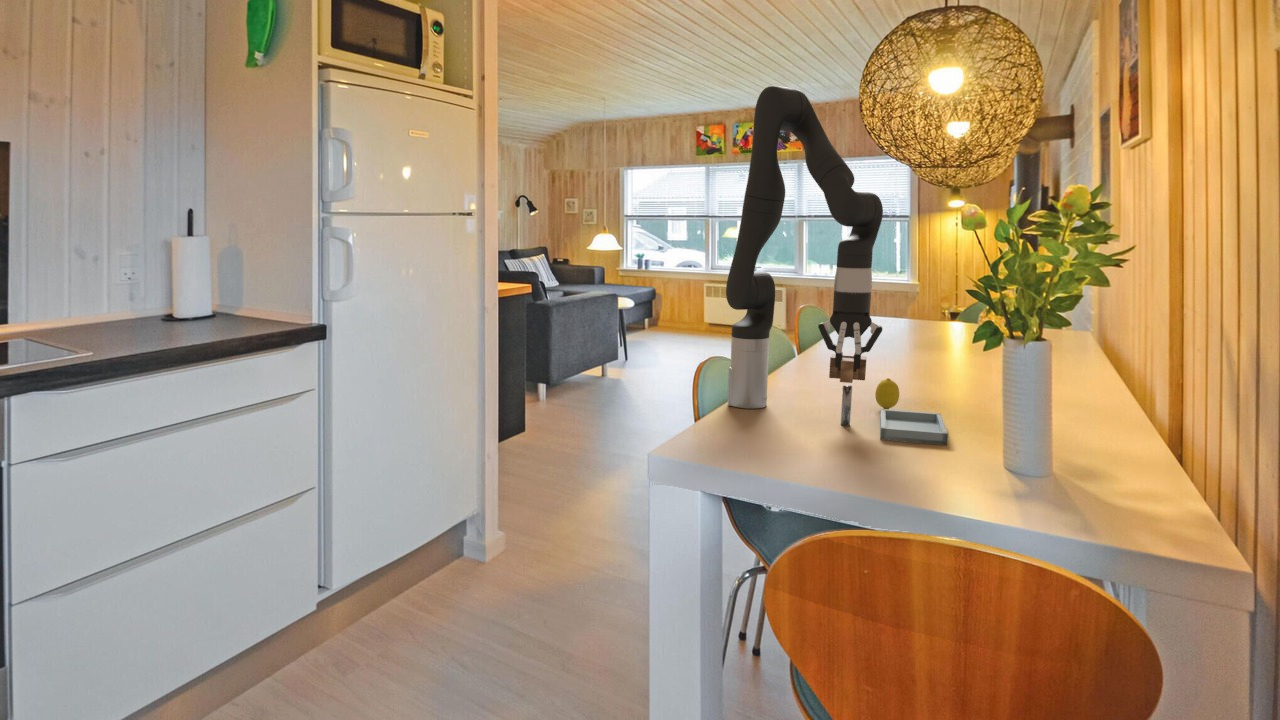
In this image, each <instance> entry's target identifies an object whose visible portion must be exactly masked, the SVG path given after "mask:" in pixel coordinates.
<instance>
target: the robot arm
mask: <svg viewBox="0 0 1280 720" xmlns="http://www.w3.org/2000/svg"><path fill="white" fill-rule="evenodd" d="M812 105H813V104H811V102H810V100H809V98H808V97H807V95H806V94H805V93H804V92H803V91H801V90H799V89H797V88H793V87H786V86H780V85H779V86H778V85H769V86H767V87H765V88H764V89H762V91H761V92H760V93H759V95H758V98H757V101H756V103H755V109H754V119H753V130H752V131H753V132H752V145H751V155H750V162H749V169H748V177H747V181H746V187H745V193H744V197H743V204H742V208H741V209H742V212H741V219H740V225H739V231H738V235H737V241H736V245H735V250H734V252H733V253H734V254H733V258H732V262H731V265H730V267H729V268H730V269H729V271H728V272H729V273H728V276H727V280H726V287H725V295H726V296H725V297H726V301H727V304H728V305H729V307H730V308H731V309H732V310H733V309H734V310H737V311H741V310H742V311H744V310H746V313H745V315H744V316H743V317H742V318H741V319H740V320H739V321H737V322H736V323H734V324H732V326H731V340H730V341H731V342H730V343H731V345H730V346H731V347H730V348H731V349H730V366H729V368H728V381H727V382H728V383H727V406H731V407H735V408H740V409H749V410H750V409H763V408H765V407H767V404H768V403H767V402H768V379H769V376H768V375H769V356H770V353H769V352H770V333H771V330H772V327H773V323H774V317H775V316H774V315H775V303H776V284H775V281H774V279H773V276H772V275H771V274H770V273H769V272H766V271H762V270H757V271H756V270H755V269H756V265H757V261H758V258H759V255H760V254H761V252H762V249H763V248H764V246H765V245H766V243H767V242H768V241H769V239H770V238H771V236H772V235H773V234H774V232H775V230H776V229H777V228H778V225H779V224H780V222H781V219H782V214H783V210H784V203H785V199H786V187H785V186H786V185H785V182H784V178H783V175H782V171H781V167H780V164H779V159H778V158H779V157H778V145H779V137H780V133H781V132H790V133H791V134H792V135H793V136H794V137H795V138H796V139H797V140H798V141H799V142H800V143H801V145H802V147H803V150H804V156H805V164H806V168H807V171H808V172H809V174H810V176H811V177H812V179H813V180H814V182H815V183H816V184H817V186H818V187H819V189H820V190H821V192H823V195H824V198H825V202H826V204H827V207H828V210H829V212H830V215H831V216H832V218H833V219H834V221H836V222H837V223H838V224H840V225H841V226H843V227H848V228H849V227H850V228H851V230H850V231H851V232H850V234H849V236H848V237H847V238H844V239H842V240H841V241H839V243H838V245H837V252H836V253H837V257H836V269H835V270H836V271H835V275H834V282H833V283H834V285H833V303H832V314H831V315H830V318H829V320H826V321H823V322H819V323H818V326H817V327H818V330H819V332H820V334H821V336H822V338H823V341H824V343H825V345H826V348H827V349H828V350H829V351H832V352H834V353H835V355H836V357H835V367H836V368H838V371H841V360H842V357H843V355H844V353H843V348H844V347H843V346H844V343H845V342H844V341H845V339H846V338H851V339H854V340H853V341H854V349H855V350H854V354H853V356H854V367H853V372H856V369H859V368H860V361H861V356H862V354H864V353H869V352H870V351H871V350H872V348H873V347H874V345H875V343H876V342H877V340H878V339H879V337H880V335H881V333H882V332H883V326H882V325H878V324H876V323H875V322H873V321H872V318H871V316H870V315H871V311H870V310H871V301H872V289H873V276H872V267H873V266H872V265H873V250H874V246H875V243H876V241H877V237H878V234H879V232H880V231H879V230H880V228H881V225H882V221H883V216H884V215H883V213H884V209H883V204H882V200H881V199H880V197H879V196H878V194H875V192H874V193H873V192H868V191H867V192H865V191H855V190H854V189H853V186H854V184H855V175H854V173H853V171H852V169H850V167H849V165H848V164H847V163H846V162H845V161H844V159H843V158H842V156H841V155H840V154H839V153H838V152H837V150H836V148H835V147H834V146H833V144H832V143H831V140H830V139H829V137H828V136H827V134H826V132H825V130H824V128H823V126H822V124H821V121H820V120H819V118H818V116H817V113H816V112H815V109H814V108H813V106H812ZM830 326H832V328H833V330H834V331H835V333H836V334H837V335H838V337H837V342H836V344H835V343H834V342H833V340H832V338H831V335H830V333H829V332H830V329H831V327H830ZM868 328H870V331H869V332H870V334H871V335H870V337H869V338H868V340H867V342H866V343H865V345H862V338H861V337H862V336H863V334H864V333H865V332H866V331H867V330H868Z"/></svg>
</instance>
